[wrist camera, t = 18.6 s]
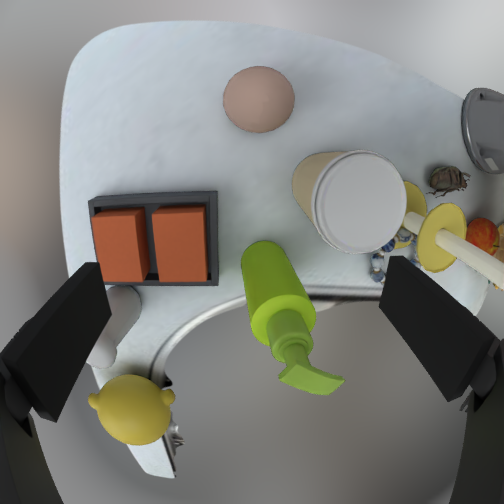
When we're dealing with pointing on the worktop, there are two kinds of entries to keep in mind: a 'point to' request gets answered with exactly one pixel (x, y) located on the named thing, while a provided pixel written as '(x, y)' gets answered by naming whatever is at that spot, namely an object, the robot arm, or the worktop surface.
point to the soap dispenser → (283, 316)
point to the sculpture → (133, 409)
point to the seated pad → (122, 244)
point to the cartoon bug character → (500, 249)
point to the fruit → (483, 235)
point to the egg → (258, 99)
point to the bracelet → (378, 258)
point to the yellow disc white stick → (444, 238)
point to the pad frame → (151, 205)
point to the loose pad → (181, 243)
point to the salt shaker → (116, 325)
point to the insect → (447, 180)
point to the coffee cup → (351, 198)
